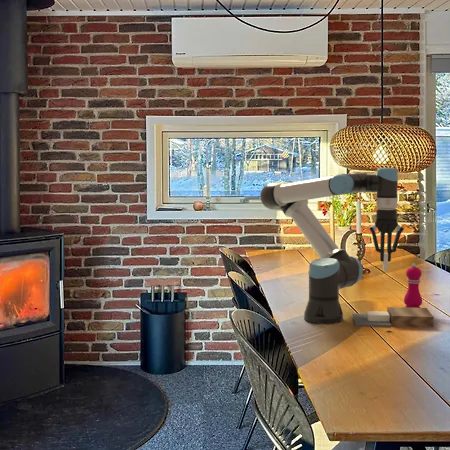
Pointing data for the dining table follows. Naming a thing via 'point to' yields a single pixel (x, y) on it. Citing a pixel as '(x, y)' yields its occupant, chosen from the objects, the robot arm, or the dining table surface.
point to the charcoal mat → (363, 321)
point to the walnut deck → (410, 317)
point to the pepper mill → (413, 288)
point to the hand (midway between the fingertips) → (385, 269)
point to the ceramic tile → (378, 316)
